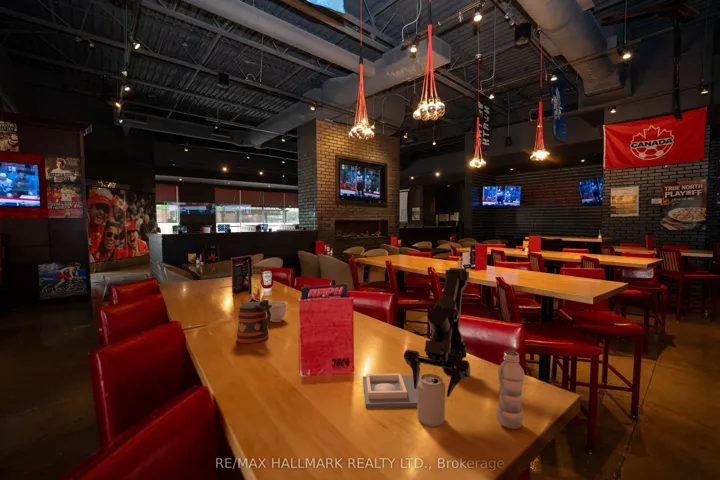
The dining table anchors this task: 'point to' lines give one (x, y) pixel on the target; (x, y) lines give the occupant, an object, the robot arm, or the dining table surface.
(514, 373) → the plastic bottle
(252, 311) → the beer stein
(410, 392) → the base board
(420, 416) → the can
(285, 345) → the dining table surface
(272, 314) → the teacup
